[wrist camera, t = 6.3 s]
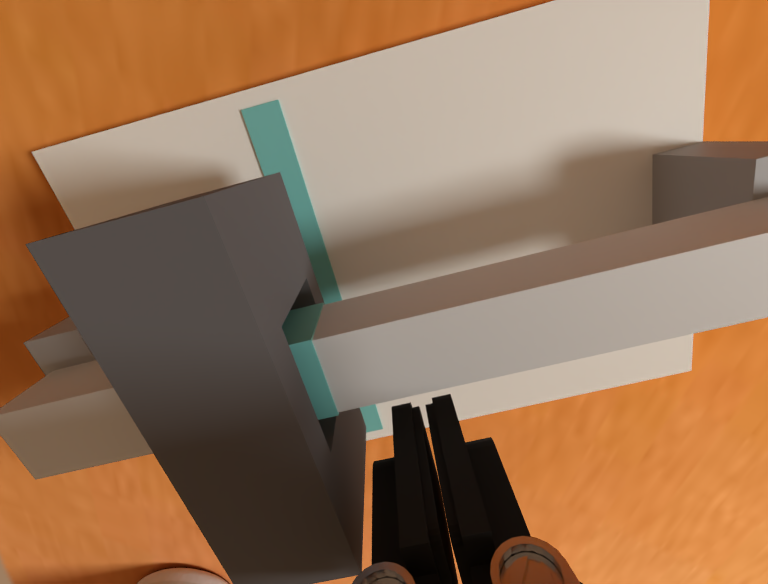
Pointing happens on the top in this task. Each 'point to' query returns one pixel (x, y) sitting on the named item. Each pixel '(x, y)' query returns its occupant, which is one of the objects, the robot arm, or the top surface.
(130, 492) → the top surface
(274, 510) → the collar
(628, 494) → the top surface
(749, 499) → the top surface
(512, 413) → the top surface
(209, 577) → the pill bottle
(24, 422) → the rail stand
